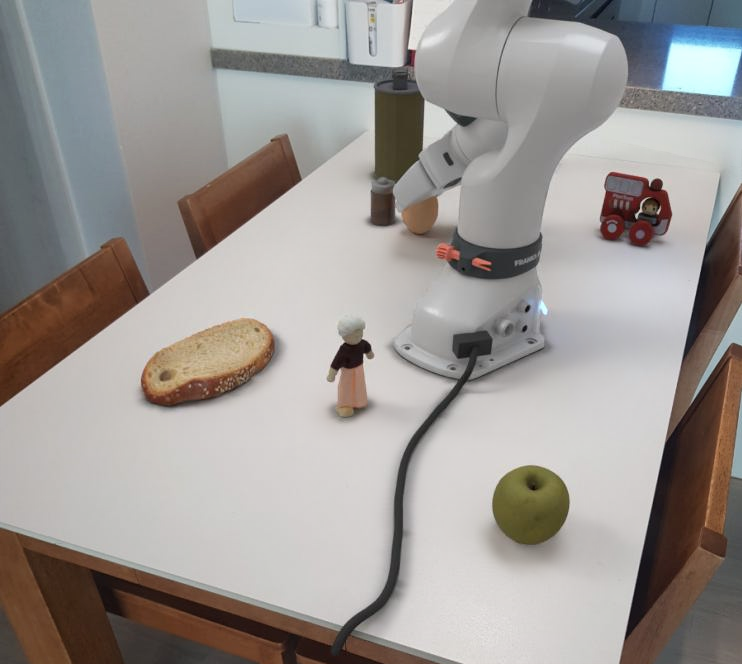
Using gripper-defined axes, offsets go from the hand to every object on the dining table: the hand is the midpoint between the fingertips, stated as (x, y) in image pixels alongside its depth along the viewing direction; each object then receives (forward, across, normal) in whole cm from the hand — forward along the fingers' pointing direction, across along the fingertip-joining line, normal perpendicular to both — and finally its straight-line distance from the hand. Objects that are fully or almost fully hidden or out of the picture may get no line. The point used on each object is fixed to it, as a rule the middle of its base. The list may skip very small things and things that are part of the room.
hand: (416, 200), depth 133 cm
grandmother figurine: (-16, +48, +25) cm, 56 cm away
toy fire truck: (-17, -24, +25) cm, 39 cm away
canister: (+20, -21, -12) cm, 31 cm away
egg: (+4, 0, +4) cm, 6 cm away
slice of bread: (-1, +54, +10) cm, 55 cm away
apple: (-36, +53, +46) cm, 79 cm away
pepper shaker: (+10, 0, -2) cm, 10 cm away
